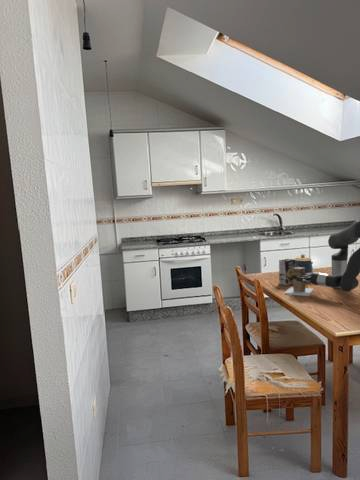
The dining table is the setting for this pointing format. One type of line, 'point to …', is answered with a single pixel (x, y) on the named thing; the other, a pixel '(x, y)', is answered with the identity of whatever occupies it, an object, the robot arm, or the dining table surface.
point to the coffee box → (286, 271)
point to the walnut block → (299, 271)
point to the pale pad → (303, 293)
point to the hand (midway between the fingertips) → (296, 275)
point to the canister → (304, 263)
